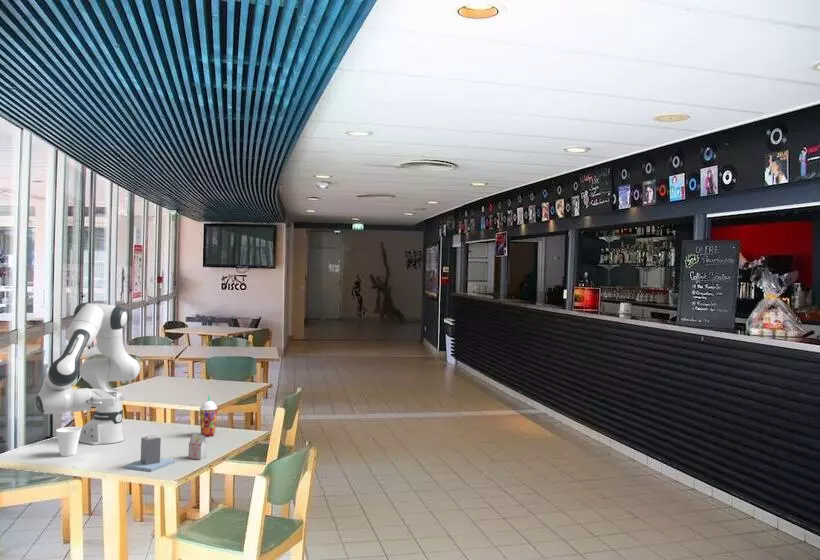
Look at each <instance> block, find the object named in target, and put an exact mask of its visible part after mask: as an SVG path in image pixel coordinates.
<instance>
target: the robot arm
mask: <svg viewBox="0 0 820 560" xmlns="http://www.w3.org/2000/svg"><path fill="white" fill-rule="evenodd" d="M127 322H128V312H127V310H126V309H125V308H124V307H121V306H119V305H117V306H116V305H112V304H106V303H94V302H93V303H90V302H81V303H79V304H78V305H77V306H76V307H75V309H74V312H73V319H72V320H71V323H70V325H69V327H68V330H67V333H66V337H65V338H66V340H67V342H68V343H67V345H66V347H65V349H64V350H63V353H62V355H60V357H59V358H57V359H56V360H55V361H53V362H52V363H51V365H50V366H49V369H48V371H47V373H46V376H45V378H44V380H43V383H42V386H41V389H40V390H39V392H38V394H36V396H35V406H36V409H37V411H38V412H39V413H41V414H44V415H57V414H65V413H68V412H69V413H70V412H75V413H76V412H84V411H89V410H90V409H91V408H92V407H94V408H96V409H95V411H92V412H91V416H93V417H92V419H91V420H89V421H88V422H86V423H85V424H84V425H83V426H82V427H81V428H82V429H81V432H80V437H79V441H78V443H79V442H80V443H83V444H88V445H92V446H96V445H104V444H115V443H116V444H117V443H119V442H123V441H125V440H126V437H125V433H124V428H123V427H124V425H123V418H124V410H123V401H124V400H125V396H124V395H123V393H122V391H120V390H119V389H116V388H114V387H112V386H111V385H110V382H127V381H131V380H135V379H136V378H137V377H138V376H139V374H140V371H141V366H140V363H139V361H138V360H137V359H135V358H133V357H132V356H131V355H130V354H129V353H128V352H127V351H126V349H125V346H124V345H125V344H124V337H123V336H124V335H123V333H124V331H123V328H124V327H125V326H126V324H127ZM95 339H96V349H97V350H98V352H99V353H100V354H102V355H104V356H106V357H105V358H104V357H102V358H101V357H99V358H98V357H97V358H96V357H95V358H91V359H86V360H84V361H83V362H82V363H81V364H80V365H79V362H80V359H81V357H82V355H83V353H84V351H85V348H89V347H90V346H91V345H92V344H93V342H94V341H95ZM107 357H108V358H107ZM79 367H80V368H79ZM79 374H80V377H81V378H82V379H83V380H84V381H85V382H86V383H88V384H89V386H90V387H92V388H88V387H84V388H83V387H79V388H72V384H73V383H74V381H75V380H76V379H77V378H78V376H79Z"/></svg>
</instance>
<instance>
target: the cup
mask: <svg viewBox="0 0 820 560" xmlns="http://www.w3.org/2000/svg"><path fill="white" fill-rule="evenodd" d="M81 429H82V427H79V426H65V427H60V428H56V429H55V432H56V436H57V445H58V450H59V456H61V457H72V456H75V455H76V454H77V452H78V451H77V450H78V446H79V437H80V433H81Z"/></svg>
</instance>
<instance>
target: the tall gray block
mask: <svg viewBox="0 0 820 560" xmlns="http://www.w3.org/2000/svg"><path fill="white" fill-rule="evenodd" d="M161 439H162V438H161V437H159V436H158V435H151V436H150V435H149V436H142V437H141V438H140V440H141V441H140V460H141V462H142V463H143V464H145V465H148V464H154V463H160V458H161V443H162V442H161Z"/></svg>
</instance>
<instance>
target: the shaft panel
mask: <svg viewBox="0 0 820 560" xmlns="http://www.w3.org/2000/svg"><path fill="white" fill-rule="evenodd" d="M175 463H176V460H175V459H171V458H165V457H163V458H162V457H160V463H154V464H148V465H145V464H143V463H142V462H141V459H138V460H136V461H133V462H130V463H127V464H125V466H124V467H125V469H128V470H129V469H130V470H136V471H143V472H152V473H153V472H154V471H157V470H160V469H161V468H165V467H168V466H170V465H172V464H175Z"/></svg>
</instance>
